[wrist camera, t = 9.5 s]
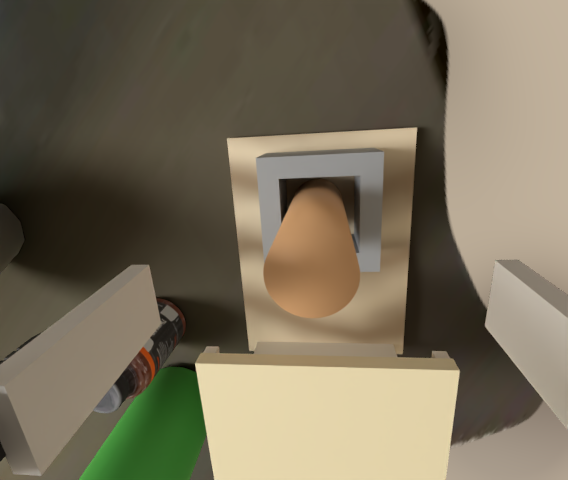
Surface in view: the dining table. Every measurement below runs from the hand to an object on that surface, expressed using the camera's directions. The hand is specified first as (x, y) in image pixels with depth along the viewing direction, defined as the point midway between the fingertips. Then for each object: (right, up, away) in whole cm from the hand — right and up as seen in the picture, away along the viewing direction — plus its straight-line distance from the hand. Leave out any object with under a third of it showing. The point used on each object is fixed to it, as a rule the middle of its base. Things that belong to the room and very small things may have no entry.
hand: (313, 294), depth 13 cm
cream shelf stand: (+3, -5, +21) cm, 22 cm away
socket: (+2, +5, +17) cm, 18 cm away
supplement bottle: (-15, -7, +25) cm, 30 cm away
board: (+3, +1, +20) cm, 20 cm away
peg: (+2, +5, +17) cm, 18 cm away
